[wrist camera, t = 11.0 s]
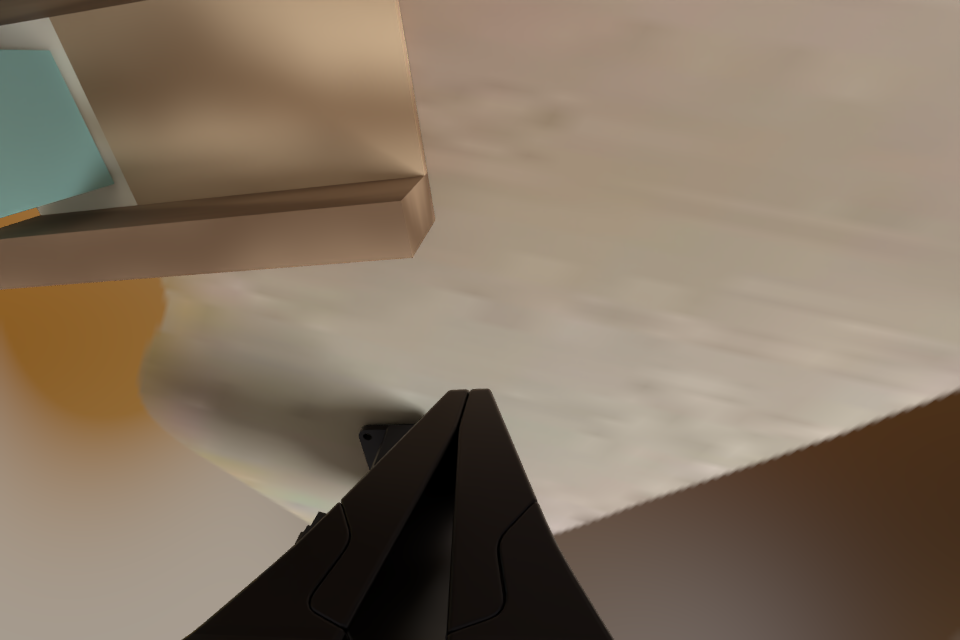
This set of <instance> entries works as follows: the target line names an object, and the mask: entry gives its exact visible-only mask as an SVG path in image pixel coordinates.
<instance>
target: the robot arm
mask: <svg viewBox="0 0 960 640" xmlns="http://www.w3.org/2000/svg"><path fill="white" fill-rule="evenodd" d="M366 433H367V434H366ZM368 434H370V435H368ZM359 439H360V442H361V445H362V448H363V451H364V454H365V457H366V460H367V463H368V467H369V470H370V471H369V472H368V473H367V474H366V475H365V476H364V477H363V478H362V479H361V480H360V481H359V482H358V483H357V484H356V485H355V486H354V487H353V488H352V489H351V490H350V491H349V492H348V493H347V494H346V495H345V496H344V497H343V498H342V499H341V503H342V504H341V503H337V504H336V505H335V506H334V507H333V508H332V509H331V510H330V511H329V512H328V513H327V514H326V513H322V512H318V514H317V516H316V518H315V519H314V521H313V523H312V524H311V526H309V525H308V526H307V527H306V529H305V530H304V532H301V533H300V535H299V537H298V539H297V541H296V543H295V545H294V546H293V547H291V548H290V549H289V550H288V551H287V552H286V553H285V554H284V555H282V557H280V558H279V559H278V560H277V561H276V562H275V563H273V564H272V565H271V566H270V567H269V568H268V569H267V570H265V571H264V572H263V573H262V574H261V575H259V576H258V577H257V578H256V579H255V580H254V581H252V582H251V583H250V584H249V585H248V586H247V587H245V588H244V589H243V590H242V591H241V592H240V593H238V594H237V595H236V596H235V597H234V598H233V599H231V600H230V601H229V602H228V603H227V604H226V605H224V606H223V607H222V608H221V609H220V610H219V611H217V612H216V613H215V614H214V615H213V616H211V617H210V618H209V619H208V620H207V621H206V622H204V623H203V624H202V625H201V626H200V627H198V628H197V629H196V630H195V631H193V632H192V633H191V634H189V635H188V636H186V637H185V638H184V639H182V640H614V639H613V637H612V635H611V634H610V632H609V631H608V629H607V627H606V626H605V624H604V623H603V621H602V619H601V618H600V616H599V614H598V612H597V611H596V609H595V608H594V606H593V604H592V603H591V601H590V599H589V598H588V596H587V594H586V593H585V591H584V590H583V588H582V586H581V585H580V583H579V581H578V580H577V578H576V576H575V575H574V573H573V572H572V570H571V568H570V566H569V564H568V563H567V561H566V559H565V557H564V556H563V554H562V552H561V550H560V548H559V547H558V545H557V543H556V541H555V539H554V536H553V534H552V532H551V530H550V528H549V526H548V524H547V522H546V519H545V517H544V515H543V512H542V510H541V508H540V505H539V504H538V502H537V499H536V496H535V494H534V492H533V489H532V487H531V484H530V482H529V480H528V477H527V475H526V473H525V470H524V468H523V466H522V463H521V461H520V458H519V456H518V454H517V451H516V449H515V447H514V444H513V442H512V439H511V437H510V435H509V432H508V430H507V428H506V425H505V423H504V420H503V418H502V416H501V413H500V411H499V409H498V406H497V404H496V402H495V399H494V397H493V394H492V392H491V390H490V389H472V390H471V391H470V392H469V390H467V389H463V390H450V391H448V392H447V393H446V394H445V395H444V396H443V397H442V398H441V399H440V400H439V401H438V402H437V403H436V404H435V405H434V406H433V407H432V408H431V409H430V410H429V411H428V412H427V413H426V414H425V415H424V416H423V417H422V418H421V419H420V420H419V421H418V422H417V423H416V424H394V425H366V426H363V427H362V429H361V431H360V433H359Z"/></svg>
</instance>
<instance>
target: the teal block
mask: <svg viewBox="0 0 960 640" xmlns="http://www.w3.org/2000/svg"><path fill="white" fill-rule="evenodd" d="M113 184H114V181H113V179H112V177H111V175H110V173H109V171H108V169H107V167H106V165H105V163H104V161H103V159H102V157H101V155H100V153H99V151H98V149H97V147H96V144H95V142H94V140H93V138H92V136H91V134H90V132H89V130H88V128H87V126H86V124H85V122H84V120H83V118H82V116H81V114H80V112H79V110H78V107H77V105H76V103H75V101H74V99H73V97H72V95H71V93H70V91H69V89H68V87H67V85H66V83H65V81H64V79H63V77H62V75H61V73H60V71H59V68H58V66H57V64H56V62H55V60H54V58H53V56H52V54H51V52H50V50H1V49H0V218H2V217H5V216H9V215H12V214H15V213H19V212H22V211H26V210H29V209H32V208H35V207H39V206H42V205H46V204H49V203H52V202H56V201H59V200H62V199H66V198H69V197H72V196H76V195H79V194H83V193H86V192H89V191H93V190H96V189H99V188H103V187H106V186H109V185H113Z"/></svg>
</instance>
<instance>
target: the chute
mask: <svg viewBox="0 0 960 640" xmlns="http://www.w3.org/2000/svg"><path fill="white" fill-rule="evenodd" d="M0 49H1V50H50V52H51V54H52V56H53V58H54V60H55V62H56V64H57V66H58V68H59V71H60V73H61V75H62V77H63V79H64V81H65V83H66V85H67V87H68V89H69V91H70V93H71V95H72V97H73V99H74V101H75V103H76V105H77V107H78V110H79V112H80V114H81V116H82V118H83V120H84V122H85V124H86V126H87V128H88V130H89V132H90V134H91V136H92V138H93V140H94V142H95V144H96V147H97V149H98V151H99V153H100V155H101V157H102V159H103V161H104V163H105V165H106V167H107V169H108V171H109V173H110V175H111V177H112V179H113V181H114V184H113V185H109V186H106V187H103V188H99V189H96V190H93V191H89V192H86V193H83V194H79V195H76V196H72V197H69V198H66V199H62V200H59V201H56V202H52V203H49V204H46V205H42V206H39V207H36V208H37V209H38V211H39V212H40V214H41V215H40V216H37V217H34V218H31V219H27V220H24V221H21V222H18V223H15V224H11V225H9V226H5V227H2V228H0V289H12V288H25V287H38V286H51V285H64V284H76V283H90V282H103V281H116V280H128V279H142V278H155V277H168V276H181V275H194V274H207V273H220V272H233V271H246V270H259V269H272V268H285V267H298V266H311V265H324V264H337V263H350V262H363V261H376V260H389V259H402V258H413V256H414V254H415V253H416V251H417V249H418V248H419V246H420V244H421V243H422V241H423V239H424V238H425V236H426V234H427V233H428V231H429V229H430V228H431V226H432V225H433V223H434V221H435V215H434V209H433V203H432V197H431V191H430V185H429V179H428V173H427V167H426V161H425V155H424V150H423V144H422V138H421V132H420V126H419V120H418V114H417V108H416V102H415V96H414V90H413V84H412V78H411V72H410V66H409V60H408V54H407V48H406V42H405V36H404V31H403V25H402V19H401V13H400V7H399V1H398V0H0Z"/></svg>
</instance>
